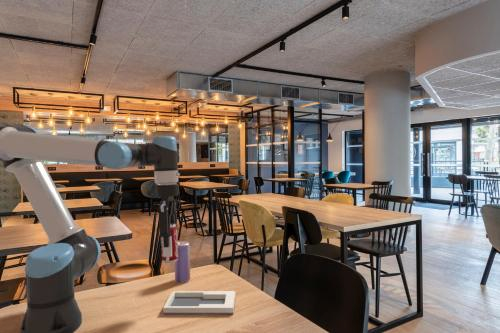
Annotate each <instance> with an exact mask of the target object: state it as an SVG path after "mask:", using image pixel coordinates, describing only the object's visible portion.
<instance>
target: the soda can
mask: <svg viewBox="0 0 500 333" xmlns="http://www.w3.org/2000/svg"><path fill="white" fill-rule="evenodd" d="M177 228H178V226H177V227H176V224H175V223H170V236H171V240H172V257H163V241H162V237H160V238H161V239H160V241H161V242H160V246H161V261H162V262H163V263H164V264H165V263H166V264H167V263H169V264H171V263H175V261H177V260H178V242H179V241H178V231H177Z"/></svg>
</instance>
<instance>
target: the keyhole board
mask: <svg viewBox="0 0 500 333" xmlns="http://www.w3.org/2000/svg"><path fill="white" fill-rule="evenodd" d="M235 304H236V291H235V290H229V291H228V290H227V291H226V290H215V291H214V290H208V291H207V290H199V291H198V290H194V291H193V290H187V291H186V290H178V291H177V290H173V291H172V292H171V293H170V295H169V297H168V299H167V301H166V302H165V304H164V306H162V308H163V310H162V311H163V312H162V315H165V316H167V315H168V316H170V315H172V316H174V315H175V316H176V315H179V316H181V315H183V316H185V315H188V316H190V315H193V316H194V315H195V316H196V315H197V316H198V315H201V316H203V315H205V316H206V315H211V316H212V315H216V316H217V315H223V316H224V315H225V316H226V315H227V316H229V315H231V316H233V315H234V311H235Z"/></svg>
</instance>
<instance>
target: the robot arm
mask: <svg viewBox="0 0 500 333" xmlns="http://www.w3.org/2000/svg"><path fill="white" fill-rule="evenodd" d="M44 161H45V162H52V163H53V162H54V163H65V164H73V165H75V164H76V165H84V166H92V167H93V166H94V167H102V168H106V169H108V170H109V169H111V170H122V169H127V168H138V167H153V168H154V170H153V173H154V174H153V176H154V183H155V185H154V190H155V191H154V192H155V196H156V197H160V198H161V199H160V200H161V201H160V203H159V205H158V206H157V210H158V221H159V226H158V227H159V236H158V237H159V238H161V237H162V241H163V257H172V240H171V236H170V223H175V224H176V227H177V232H178V231H179V228H178V220H177V219H178V217H177V215H178V214H177V199H174V198H175V197H176V196H178V195H179V194H180V189H179V188H180V187H179V183H178V182H179V177H180V176H181V174H180V172H179V166H178V146H177V139H176V137H175V136H169V135H166V136H165V135H162V136H154V137H152V142H150V143H146V142H145V143H133V142H132V143H131V142H130V143H129V142H121V141H115V140H113V141H112V140H111V141H109V140H101V139H93V138H92V139H91V138H85V137H84V138H83V137H73V136H67V135H66V136H65V135H64V136H63V135H56V134H45V133H40V131H38V130H37V129H35V128H33V127H32V126H27V125H25V124H17V123H16V124H14V123H13V124H12V123H3V122H0V162H1V164H2V166H3V167H4V169H5V171H6V172H9V173H12V174H14V176H15V178H16V179H17V182H18V183H19V186H20V187H21V189H22V191H23V193H24V195H25V196H26V199H27V200H28V202H29V204H30V206H31V209H32V210H33V212H34V214H35V215H36V217H37V219H38V221H39V223H40V224H41V226H42V228H43V231H44V233H45V234H46V236H47V238H48V241H47V244H46V245H44V246H43V245H42V246H40V247H37V248H35V249H33V250H32V251H31V252H30V253H29V254H28V255H27V256H26V259H25V267H24V272H25V283H26V285H25V286H26V288H25V289H26V310H25V314H24V317H23V319H22V322H21V325H20V328H19V333H74V332H75V331H77V330H78V329H79V328H80V327H81V325H82V323H83V319H82V318H83V315H82V312H81V309H80V307H79V305H78V302H77V300H76V297H75V280H77V279H79V278H80V277H81V276H83V275H84V274H85V273H87V272H89V271H90V270H92V269H93V268H94V267H95V265H97V263H98V262H99V260H100V257H101V253H102V251H101V249H102V248H101V245H100V243H99V241H98V240H97V239H96V238H95V237H93V236H91V235H88V234H87V232H86V230H85V228H84V227H81V226H78V225H76V221H74V218H73V216H72V214H71V212H70V211H69V208H68V207H67V206H66V203H65V201H64V200H63V198H62V196H61V194H60V192H59V190H58V188H57V187H56V185H55V183H54V180H53V179H52V176H51V175H50V173H49V171H48V169H47V168H46V165H45V162H44Z"/></svg>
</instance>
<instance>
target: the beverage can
mask: <svg viewBox="0 0 500 333" xmlns="http://www.w3.org/2000/svg"><path fill="white" fill-rule="evenodd" d="M190 279H191V245H190V242H189V241H186V240H185V241H183V240H182V241H178V260H177V261H175V262H174V280H175V282H176V283H178V284H183V283H188V282H189V281H190Z"/></svg>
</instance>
